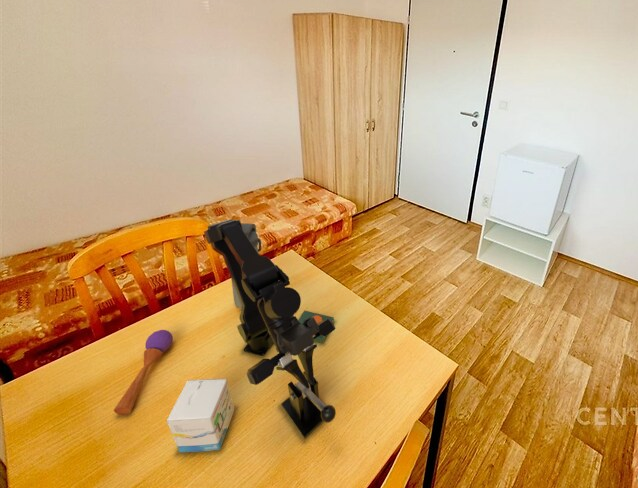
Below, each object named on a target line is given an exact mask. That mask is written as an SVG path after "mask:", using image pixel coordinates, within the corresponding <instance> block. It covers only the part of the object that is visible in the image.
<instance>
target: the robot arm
mask: <svg viewBox="0 0 638 488" xmlns="http://www.w3.org/2000/svg"><path fill="white" fill-rule="evenodd" d="M241 223H242V222H241V219H232V218H230V219H226V220H224V221H220V222H217V223H214V224H210V225H208V226H207V229H206V230H204V231H203V232H204V233H203V234H204V237H205V241H206V242H207V244H208V245H210V247H211V248H212V250H213V251H214V252H216V253H217V254H219V255H220V256H221V257H222V258H223V260H224V263H225V266H226V269H227V271H228V273H229V275H230V279H232V280H231V282H232V281H233V284H234V286H235V289H236V292H237V294H238V297H239V299H240V302H241V304H242V308H241V309H240V314H239V321H240V324H238V325H237V326H236V327H237V329H238V333H239V335H240V337H241V338H242V340H243V341H244V344H246V345H245V347H244V348H243V352H244V353H248V354H252V355H256V356H260V357H265V356H266V354H267V353H268V351H269V350H270V349H271V348H272V346H273V345H274V346H275V350H276V352H277V354H275V355H274V356H273V357H271V358H263V359H261V360H260V361H258V362H257V363H255V364H253V365H252V366H251V367H249V368H248V369H247V371H246V377H247V379H248V381H249V383H250V385H255V386H257V385H259V384H261V383H262V382H263V381H265V380H266V379H268V378H269V377H271V376H272V375H274V371H275V369H276V371H283V372H284V371H286V372H287V373H289V374H290V375H291V376H293V378H295V379H296V380H297V382H298V381H299V382H300V383H301V384H303V385H304V386H305V387H306V388H307V389H309V388H310V386H309V384H308V381H307V380H306V378H305V376H304V373H303V372H304V371H305V373H306V376H307V378H308V380H309V381H310V383H311V385H313V384H314V377H315V375H314V374H315V373H314V365H313V364H314V363H313V357H314V356H313V355H314V351H315V349H316V348H318V344H317V343H315V341H314V339H315V338H317V337H318V336H324V337H325V336H328V335H330V334H331V333H333V332H334V331H335V330H336V326H335V323H333V322H332V321H331V320H329V319H326V320H322V321H320V322H318V323H317V322H316V321H315V319H314V317H309V318H308V319H306V320H305V321H304V323H302V324H301V323H300V322H299V321H298V320H299V318H298V317H297V316H296V315H295V314H296V313H297V312H298V311H299V309H300V307H301V304H302V298H301V295H300V293H299V292H298V291H297V290H296V289H294V288H293V287H289V285H291V282H290V277H289V276H288V275H287V274H286V273H285V272H284V271H283V269H281V268H280V267H279V266H278V265H277V264H275V263H274V262H273V261H272V260H271V259H270V258H269V257H268V256H264V255H262V254H260V252H257V251H256V249H255V248H254V246H253V245H252V243H251V242H250V240H249V239H248V237H247V236H246V234H245V233H244V230H243V227H242V224H241ZM292 356H294V357H295V356H297V357H298V359H299V361H300V363H301V366H302V369H303V371H302V370H301V368H300V366H299V363H298V360H297V359H296V358H295V359H294V358H293V357H292ZM275 367H276V368H275Z"/></svg>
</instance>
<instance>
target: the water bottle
mask: <svg viewBox="0 0 638 488" xmlns="http://www.w3.org/2000/svg"><path fill="white" fill-rule="evenodd" d="M241 224H242V227H243V230H244V233H245V234H246V236H247V237H248V239H249V240H250V242H251V243H252V245H253V246H254V248H255V249H256V251H257V252H258V253H260V252H261V251H262V248H263V247H262V240H261V238H259V236H258V235H259V234H258V233H257V227H256V223H245V222H243V223H242V222H241ZM230 279H231V278H230ZM231 288H232V296H233V302H234V305H235V306H236V307H237V308H239V309H240V310H241V308H242V304H241V302H240V299H239V297H238V294H237V292H236V289H235V286H234V284H233V281H232V279H231Z"/></svg>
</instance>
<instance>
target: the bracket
mask: <svg viewBox="0 0 638 488" xmlns="http://www.w3.org/2000/svg"><path fill="white" fill-rule="evenodd" d="M302 373H303V374H304V376H305V378H306V380H307V381H308V383H309V384H310V387H311V391H312V392H313V393H314V394H315V395H316V396H317V397H318V398H319V399H320V394H319V393H320V392H319V391H320V390H319V382H318V380H317V378H316V376H314V384H313V385H311V383H310V381H309V380H308V378H307V376H306V373H305V371H304V370H303V371H302ZM287 389H288V396H289V397H288V398H287V399H285V400H284V401H283V402H281V408H282V409H283V411H284V412H285V414H286V416H288V418H289V419H290V421H291V422H292V424H293V425H294V427H295V428H296V429H297V431H298V432H299V434H300V436H301V437H302V438H303V440H306V439H307V438H308V437H309V436H310V435H311V434H312V433H313V432H314V431H316V429H318V428H319V427H320V426H321V425H323V423H325V422H324V421H323V420H322V418H321V411H320V410H319V409H318V408H317V407H316V406H315V405H314V404H313V403H312V402H311V401H310V400H309V399H308V397H307V396H306V397H305V398H304V399H303V398H302V394H301V393H300V392H299V390H298V389H297V388H296V386H295V384H294V382H293V381H292V380H291V381H290V382H288V383H287Z"/></svg>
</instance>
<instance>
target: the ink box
mask: <svg viewBox="0 0 638 488" xmlns="http://www.w3.org/2000/svg"><path fill="white" fill-rule="evenodd" d="M234 412H235V405H234V403H233V398H232V394H231V390H230V386H229V383H228V379H227V378H204V379H188V380H187V381H186V382H185V384H184V386H183V388H182V390H181V392H180V394H179V396H178V398H177V400H176V401H175V403H174V405H173V407H172V409H171V410H170V413H169V416H168V417H167V419H166V424H167V425H168V428H169V430H170V433H171V435H172V437H173V440H174V442H175V445H176V447H177V449H178V450H177V451H178V452H179V453H181V454H182V453H198V452H199V453H200V452H211V451H219V450H221V448H222V446H223V443H224V440H225V437H226V434H227V431H228V428H229V426H230V423H231V420H232V419H233V415H234Z"/></svg>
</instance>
